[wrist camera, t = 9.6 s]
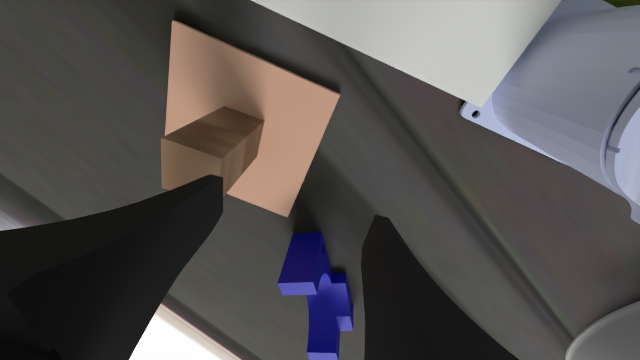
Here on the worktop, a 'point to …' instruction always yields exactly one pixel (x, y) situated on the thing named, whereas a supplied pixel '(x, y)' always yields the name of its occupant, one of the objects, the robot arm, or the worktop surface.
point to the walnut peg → (211, 148)
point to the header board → (431, 36)
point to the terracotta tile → (250, 110)
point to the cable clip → (318, 293)
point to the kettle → (609, 337)
